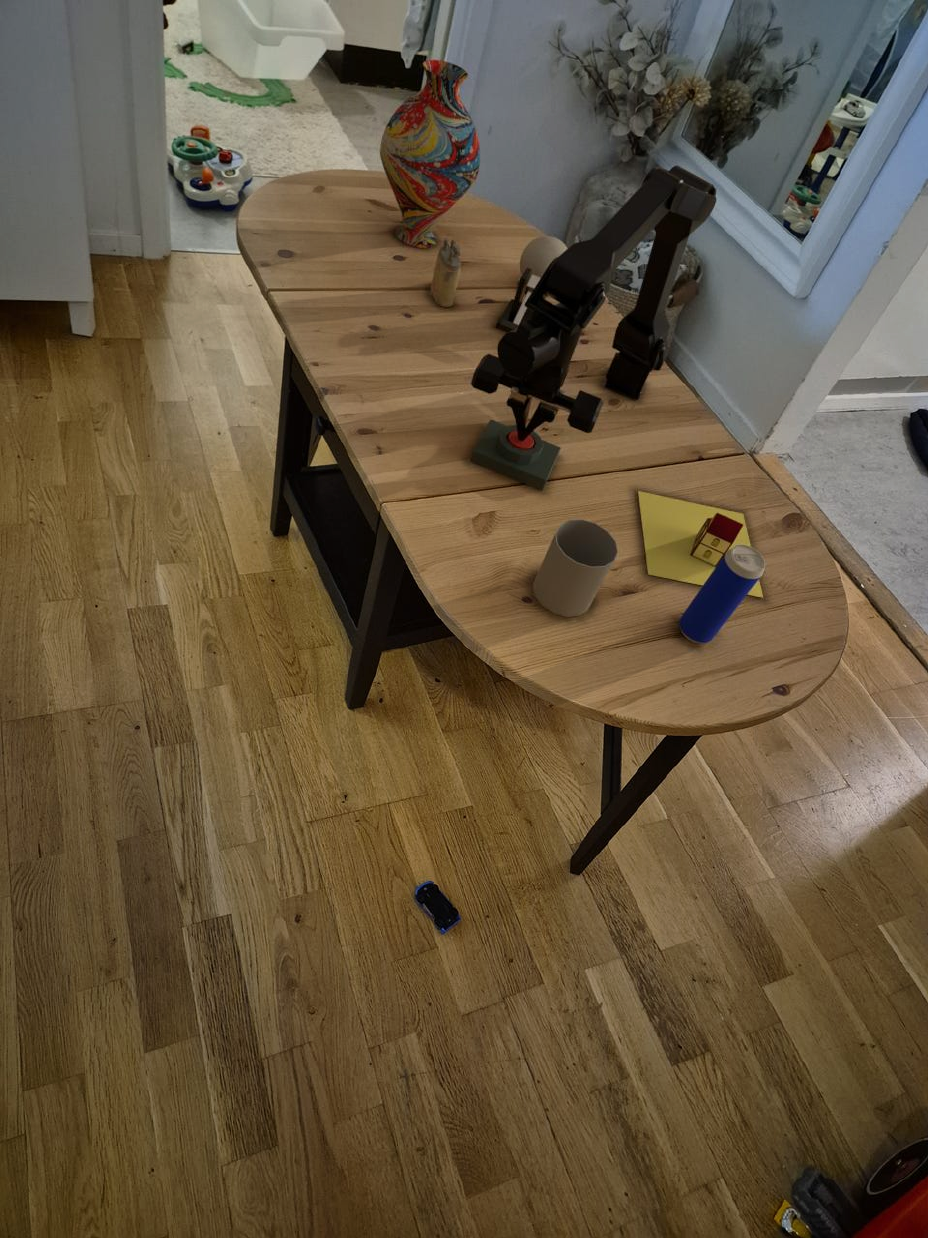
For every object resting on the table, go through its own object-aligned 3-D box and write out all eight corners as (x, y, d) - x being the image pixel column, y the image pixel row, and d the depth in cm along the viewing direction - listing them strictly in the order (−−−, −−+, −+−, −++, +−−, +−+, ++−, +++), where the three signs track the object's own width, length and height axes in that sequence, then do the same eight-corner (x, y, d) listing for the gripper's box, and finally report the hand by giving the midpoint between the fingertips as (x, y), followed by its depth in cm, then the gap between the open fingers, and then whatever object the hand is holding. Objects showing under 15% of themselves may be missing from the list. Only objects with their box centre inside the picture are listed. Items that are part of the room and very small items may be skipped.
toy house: (691, 563, 119) (716, 525, 112) (685, 532, 123) (709, 493, 117) (727, 571, 119) (754, 533, 113) (720, 539, 124) (746, 501, 117)
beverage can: (707, 618, 112) (761, 545, 101) (716, 647, 109) (772, 576, 98) (674, 613, 111) (724, 540, 100) (681, 643, 108) (734, 571, 97)
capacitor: (455, 308, 148) (467, 256, 141) (435, 307, 147) (446, 255, 139) (445, 286, 152) (456, 235, 145) (426, 285, 151) (436, 234, 143)
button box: (556, 457, 127) (564, 438, 124) (542, 491, 121) (550, 471, 118) (487, 429, 128) (493, 409, 125) (469, 461, 122) (475, 441, 119)
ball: (518, 297, 156) (532, 248, 148) (510, 270, 162) (523, 222, 154) (566, 304, 158) (582, 256, 151) (556, 277, 164) (572, 230, 157)
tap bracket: (535, 343, 147) (550, 297, 140) (495, 327, 147) (508, 280, 140) (548, 319, 153) (563, 273, 146) (510, 303, 154) (523, 257, 146)
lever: (524, 340, 142) (526, 332, 140) (498, 330, 143) (500, 321, 140) (548, 290, 146) (550, 281, 144) (522, 280, 146) (524, 270, 144)
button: (533, 445, 124) (537, 436, 123) (526, 459, 121) (530, 450, 120) (510, 435, 124) (513, 426, 123) (502, 449, 121) (505, 441, 120)
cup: (543, 618, 105) (567, 568, 98) (524, 571, 110) (546, 520, 102) (600, 613, 108) (627, 565, 100) (579, 568, 113) (604, 518, 105)
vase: (360, 209, 164) (380, 39, 141) (446, 216, 170) (479, 55, 147) (382, 259, 153) (407, 84, 130) (473, 264, 160) (512, 99, 137)
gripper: (626, 347, 114) (589, 432, 126) (506, 299, 115) (481, 389, 127) (611, 386, 107) (573, 473, 119) (483, 335, 108) (458, 426, 120)
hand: (521, 438), depth 121 cm, fingers closed, pressing on button
